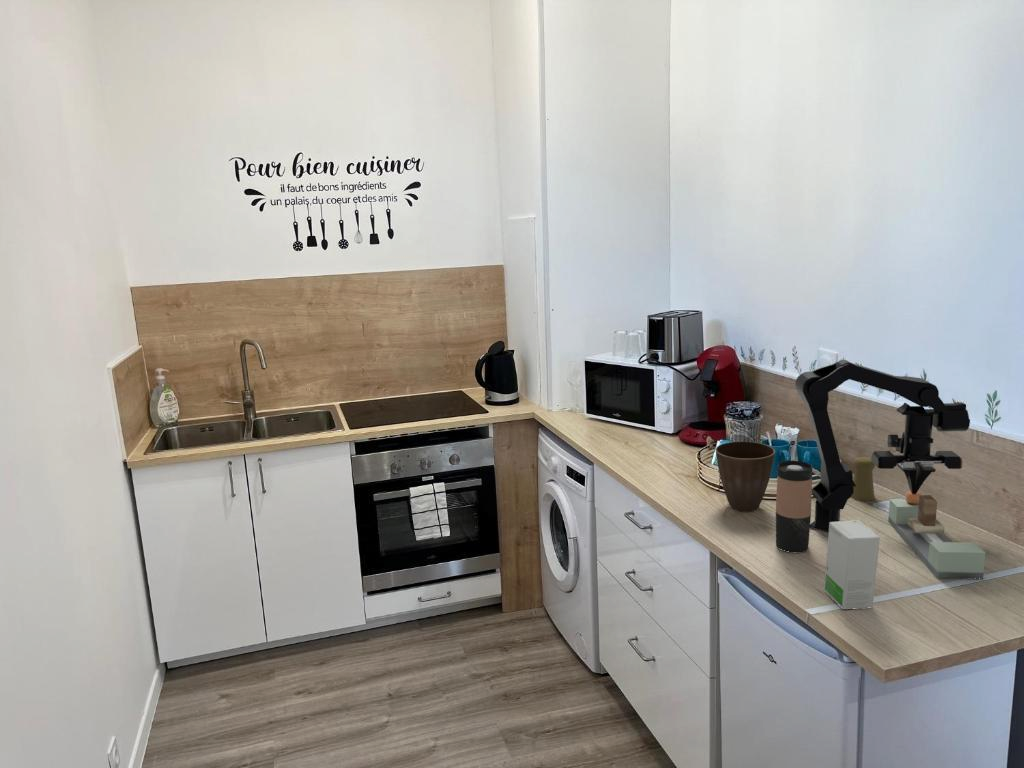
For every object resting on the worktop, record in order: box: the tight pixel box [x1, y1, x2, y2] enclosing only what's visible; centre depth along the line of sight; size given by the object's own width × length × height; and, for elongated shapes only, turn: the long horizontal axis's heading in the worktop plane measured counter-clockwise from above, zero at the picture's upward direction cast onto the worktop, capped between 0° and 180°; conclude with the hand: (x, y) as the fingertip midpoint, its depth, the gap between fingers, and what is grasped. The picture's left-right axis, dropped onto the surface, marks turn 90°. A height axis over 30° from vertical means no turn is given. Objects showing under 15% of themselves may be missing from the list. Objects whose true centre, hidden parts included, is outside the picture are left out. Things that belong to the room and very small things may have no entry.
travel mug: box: [775, 460, 813, 553], centre depth 176 cm, size 8×8×20 cm
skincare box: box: [823, 519, 881, 609], centre depth 152 cm, size 8×7×16 cm
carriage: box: [908, 494, 945, 534], centre depth 176 cm, size 5×6×8 cm
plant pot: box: [715, 441, 776, 513], centre depth 201 cm, size 15×15×16 cm
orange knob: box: [905, 490, 922, 505], centre depth 185 cm, size 3×3×4 cm
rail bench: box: [887, 498, 986, 580], centre depth 173 cm, size 30×9×6 cm, turn 172°
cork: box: [850, 456, 876, 502], centre depth 205 cm, size 6×6×11 cm
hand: (913, 493), depth 184 cm, fingers closed, pressing on orange knob
